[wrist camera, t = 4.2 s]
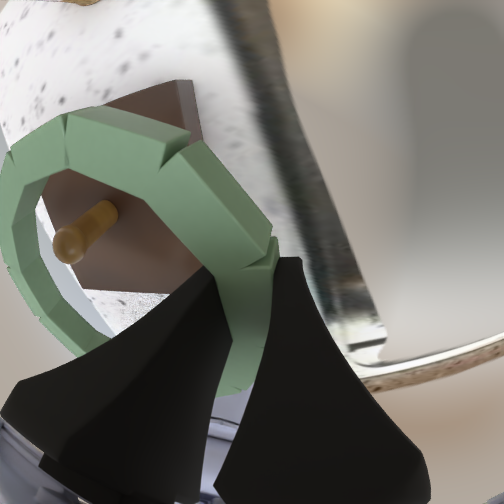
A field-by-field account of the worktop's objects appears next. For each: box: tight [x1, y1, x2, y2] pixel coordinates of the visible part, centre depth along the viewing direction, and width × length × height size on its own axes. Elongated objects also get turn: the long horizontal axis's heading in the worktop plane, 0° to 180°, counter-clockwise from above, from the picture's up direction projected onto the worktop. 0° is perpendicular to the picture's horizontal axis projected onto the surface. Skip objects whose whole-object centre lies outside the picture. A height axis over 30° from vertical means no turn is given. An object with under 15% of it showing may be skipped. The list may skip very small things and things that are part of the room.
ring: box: [0, 105, 280, 398], centre depth 10 cm, size 13×13×2 cm
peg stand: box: [41, 80, 203, 294], centre depth 17 cm, size 15×15×8 cm
